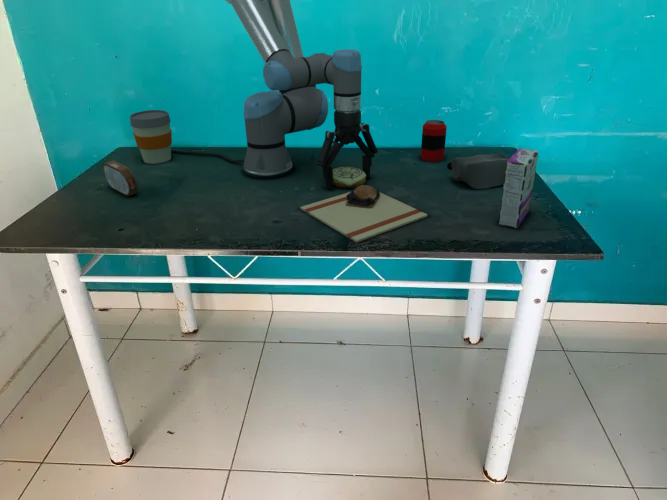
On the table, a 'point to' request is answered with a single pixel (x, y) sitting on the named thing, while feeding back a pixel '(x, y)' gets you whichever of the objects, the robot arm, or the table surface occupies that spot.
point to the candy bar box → (518, 187)
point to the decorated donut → (348, 177)
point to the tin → (120, 178)
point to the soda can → (433, 140)
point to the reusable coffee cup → (152, 135)
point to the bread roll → (363, 197)
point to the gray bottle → (479, 170)
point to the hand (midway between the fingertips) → (348, 182)
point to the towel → (363, 216)
